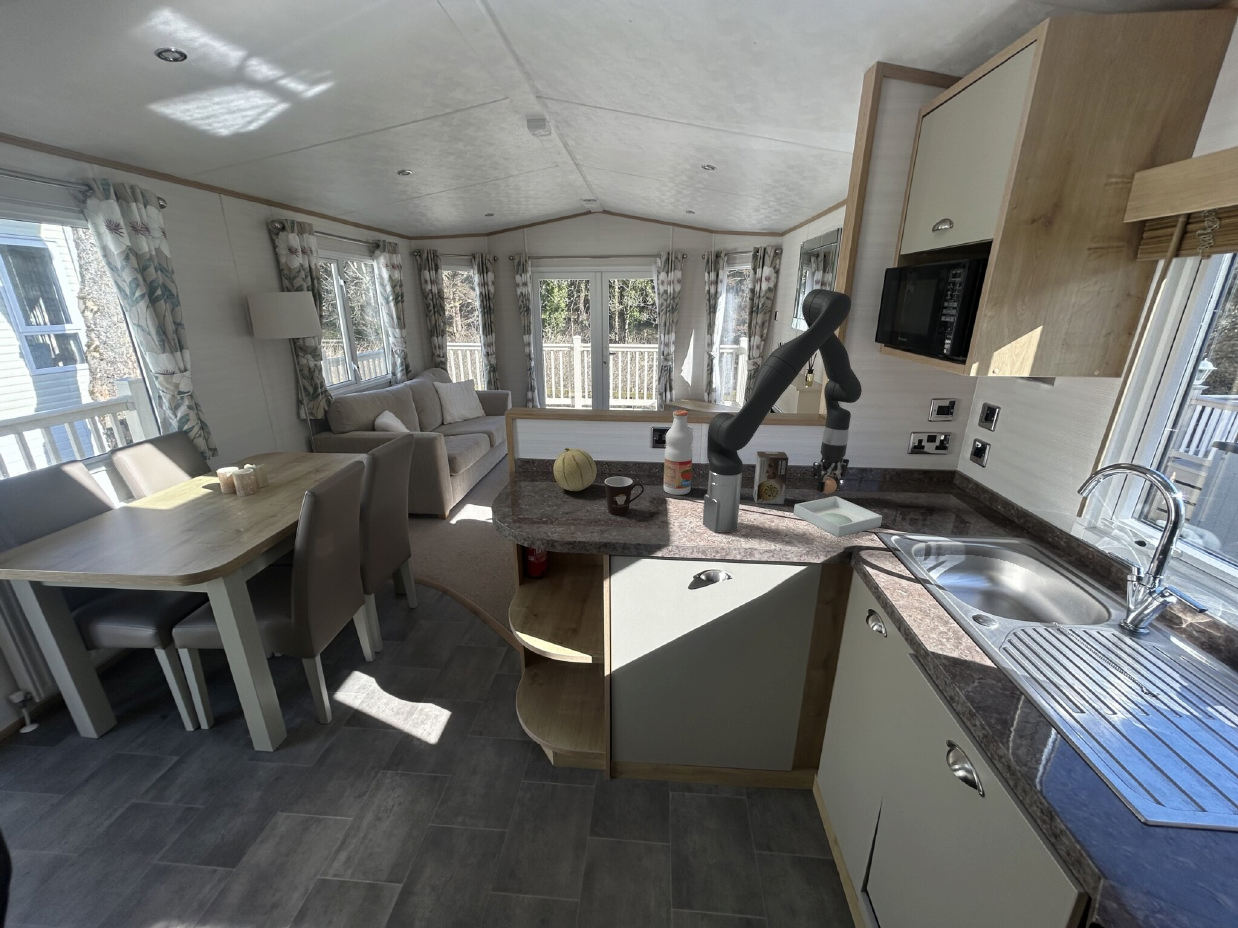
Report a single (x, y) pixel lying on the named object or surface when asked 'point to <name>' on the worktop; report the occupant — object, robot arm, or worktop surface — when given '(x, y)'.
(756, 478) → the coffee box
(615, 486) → the coffee mug
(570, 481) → the cantaloupe
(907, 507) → the worktop surface
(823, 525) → the tray
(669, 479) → the fruit juice
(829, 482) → the terracotta ball
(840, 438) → the robot arm
